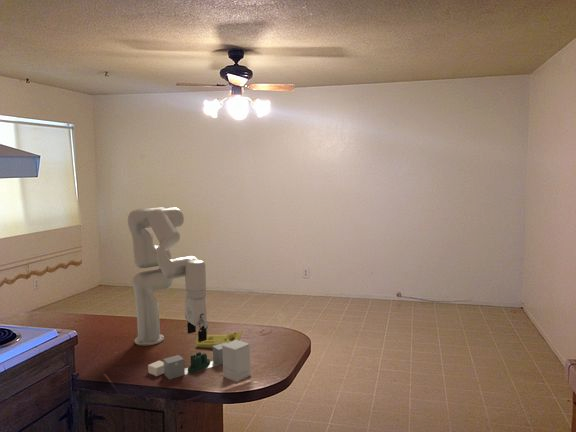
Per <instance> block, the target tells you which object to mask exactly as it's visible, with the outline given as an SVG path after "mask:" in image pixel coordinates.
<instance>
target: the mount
mask: <svg viewBox="0 0 576 432" xmlns="http://www.w3.org/2000/svg"><path fill="white" fill-rule="evenodd" d="M210 361H211V360H210V359H209V358H208V354H207V353H205V352H204V353H202V352H201V351H198V352H196V353H195V354H192V355H191V356H190V365H189V366H188V367H187V368H188V373H190V374H195V373H197V372H201V371H203V370H205V369H204V368H205V367H207V366H208V365H209V364H210ZM202 369H203V370H202Z"/></svg>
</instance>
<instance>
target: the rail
mask: <svg viewBox="0 0 576 432" xmlns="http://www.w3.org/2000/svg"><path fill="white" fill-rule="evenodd" d="M221 365H222V364H220V365H218V364H217V363H216V362H214V361H213V360H210V364H209V365H208V366H207V367H205V368H204V369H202V370H201V371H203V370H207V369H210V368H214V367H217V366H221ZM184 368H185V367H184ZM188 368H189V367H186V368H185V375H182V376H186V375H190V374H191V373H188ZM182 376H181V377H182ZM175 378H177V377H175ZM175 378H174V379H175Z"/></svg>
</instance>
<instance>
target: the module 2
mask: <svg viewBox="0 0 576 432" xmlns="http://www.w3.org/2000/svg"><path fill="white" fill-rule="evenodd" d="M225 344H227V343H222V344H218V345H215V346H213V348H212V359H213V360H212V361H214V362H216V363H217V364H218V365H217V366H221V365H223V353H222V345H225ZM220 364H221V365H220Z"/></svg>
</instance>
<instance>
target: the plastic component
mask: <svg viewBox="0 0 576 432" xmlns="http://www.w3.org/2000/svg"><path fill="white" fill-rule="evenodd" d="M243 332H244V329H241V331H240V332H239V331H238V332H237V331H234V332H229V333H227V334H207V340H205V341H201V342H199V341H198V336H197V337H196V338H195V339H196V340H195V344H196V346H197V348H207V349H213V346H215V345H218V344H222V343H229V342H232V341H234V340H239V341H241V337H242V335H243Z"/></svg>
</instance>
